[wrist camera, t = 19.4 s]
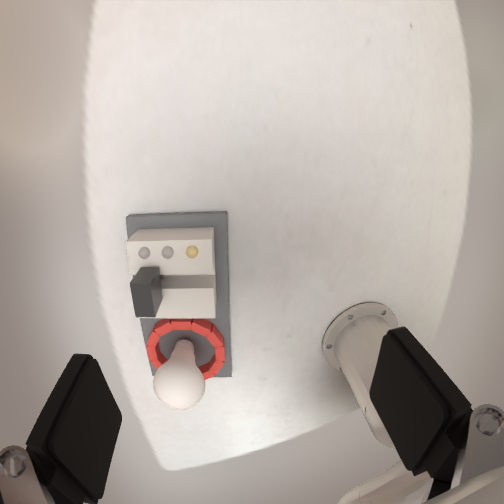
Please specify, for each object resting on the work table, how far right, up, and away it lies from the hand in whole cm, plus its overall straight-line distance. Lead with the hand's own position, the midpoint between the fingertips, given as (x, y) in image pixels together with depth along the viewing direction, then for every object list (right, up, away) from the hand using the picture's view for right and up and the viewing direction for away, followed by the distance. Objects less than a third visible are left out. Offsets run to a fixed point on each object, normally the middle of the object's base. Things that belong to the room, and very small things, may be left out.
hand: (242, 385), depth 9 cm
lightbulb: (-9, -8, +31) cm, 33 cm away
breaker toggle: (-10, +2, +25) cm, 27 cm away
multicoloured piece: (-9, -3, +30) cm, 31 cm away
